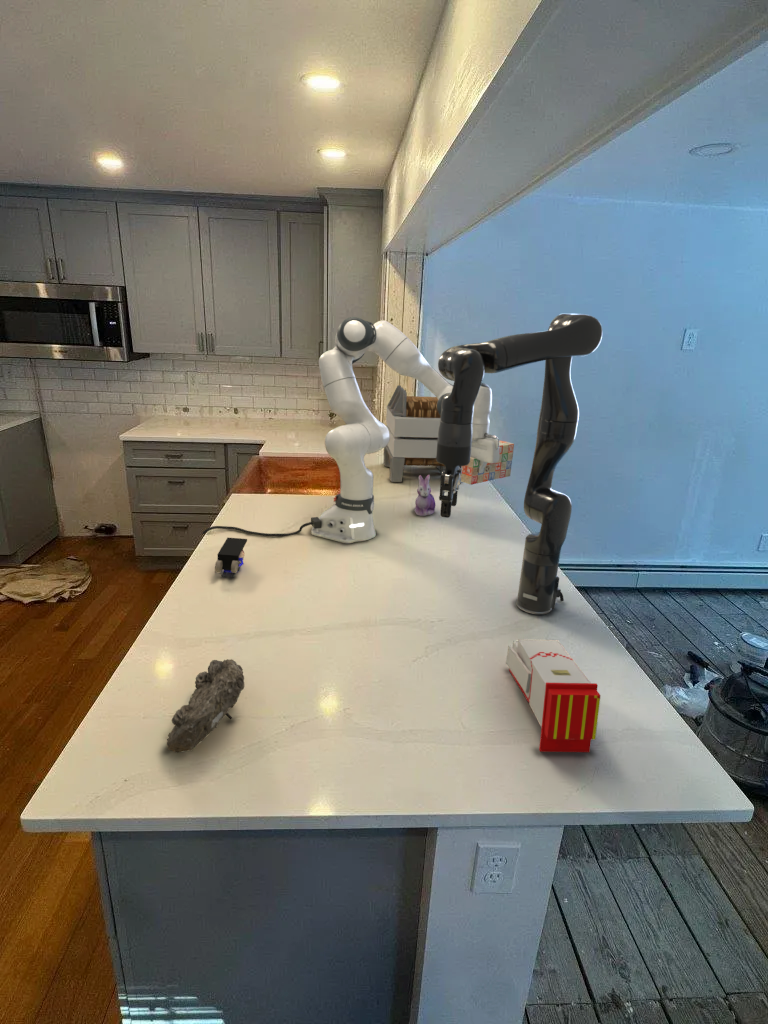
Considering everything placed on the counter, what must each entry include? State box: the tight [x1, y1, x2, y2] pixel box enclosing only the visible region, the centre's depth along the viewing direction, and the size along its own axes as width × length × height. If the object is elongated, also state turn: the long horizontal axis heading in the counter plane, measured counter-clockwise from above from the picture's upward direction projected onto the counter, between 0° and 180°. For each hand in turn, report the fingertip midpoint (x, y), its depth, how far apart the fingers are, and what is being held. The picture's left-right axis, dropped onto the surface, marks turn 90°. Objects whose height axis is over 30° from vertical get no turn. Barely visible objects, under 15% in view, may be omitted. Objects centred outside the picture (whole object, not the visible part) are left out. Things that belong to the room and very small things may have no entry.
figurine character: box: [214, 537, 248, 578], centre depth 166 cm, size 7×8×15 cm
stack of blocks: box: [461, 440, 515, 486], centre depth 201 cm, size 21×6×12 cm, turn 130°
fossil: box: [166, 658, 245, 754], centre depth 106 cm, size 22×10×15 cm
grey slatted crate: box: [383, 384, 445, 483], centre depth 268 cm, size 34×33×41 cm
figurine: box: [413, 474, 436, 517], centre depth 219 cm, size 9×10×15 cm
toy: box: [505, 638, 602, 753], centre depth 114 cm, size 12×13×30 cm
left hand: (471, 470), depth 197 cm, fingers closed on stack of blocks, 6 cm apart
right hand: (448, 510), depth 130 cm, fingers open, 8 cm apart
